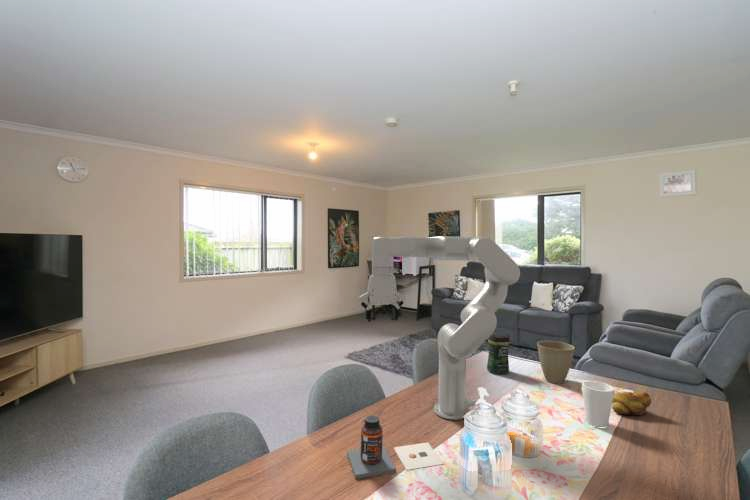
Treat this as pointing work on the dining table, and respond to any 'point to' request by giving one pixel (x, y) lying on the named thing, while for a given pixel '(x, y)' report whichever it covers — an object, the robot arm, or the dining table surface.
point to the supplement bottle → (371, 440)
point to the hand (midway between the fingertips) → (382, 320)
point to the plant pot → (555, 360)
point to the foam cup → (597, 402)
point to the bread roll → (631, 402)
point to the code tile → (417, 456)
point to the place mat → (369, 470)
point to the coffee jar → (498, 353)
